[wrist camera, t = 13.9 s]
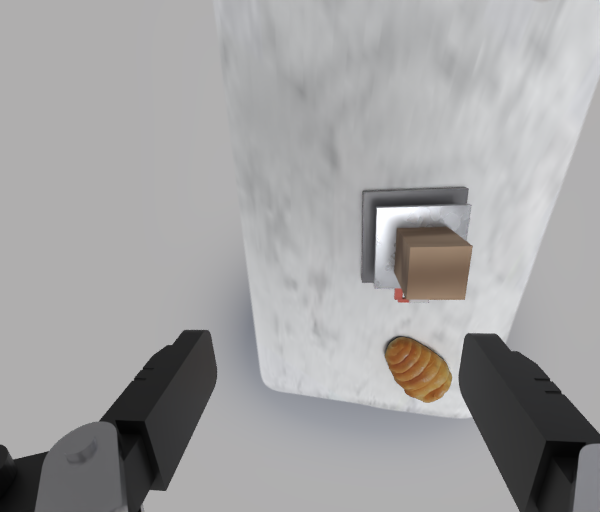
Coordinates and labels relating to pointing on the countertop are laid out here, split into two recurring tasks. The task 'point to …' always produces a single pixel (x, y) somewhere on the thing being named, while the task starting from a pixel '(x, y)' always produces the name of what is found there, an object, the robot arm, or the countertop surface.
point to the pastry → (418, 369)
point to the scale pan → (410, 218)
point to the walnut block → (432, 263)
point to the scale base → (399, 199)
